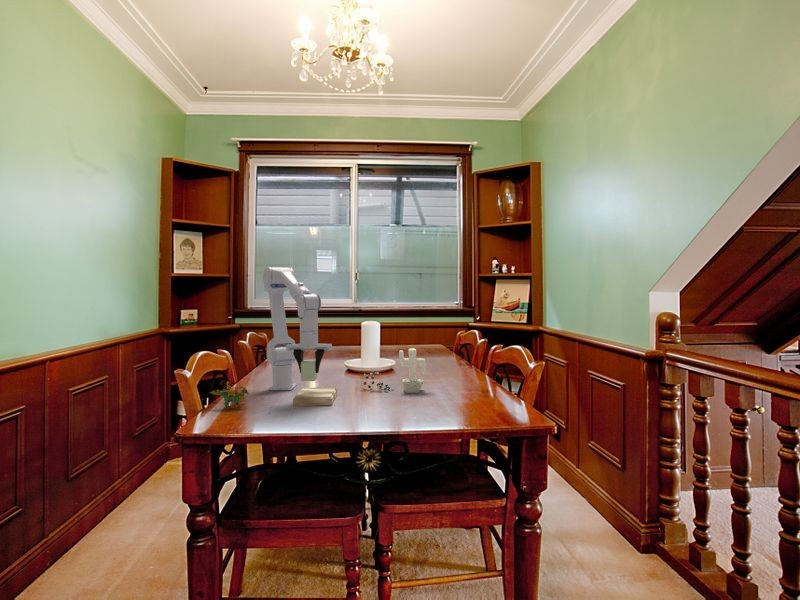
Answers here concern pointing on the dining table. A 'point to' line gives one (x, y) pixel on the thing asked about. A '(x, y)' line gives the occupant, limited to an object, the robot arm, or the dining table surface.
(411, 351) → the figurine
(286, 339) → the robot arm
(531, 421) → the dining table surface
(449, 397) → the dining table surface
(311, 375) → the sage block
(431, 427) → the dining table surface
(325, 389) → the birch base
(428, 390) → the dining table surface
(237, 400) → the figurine
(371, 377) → the molecule model
